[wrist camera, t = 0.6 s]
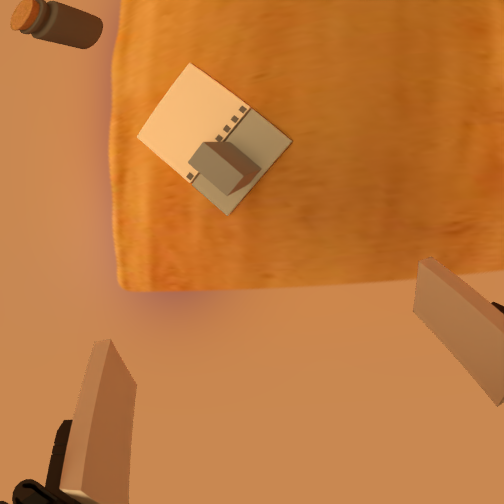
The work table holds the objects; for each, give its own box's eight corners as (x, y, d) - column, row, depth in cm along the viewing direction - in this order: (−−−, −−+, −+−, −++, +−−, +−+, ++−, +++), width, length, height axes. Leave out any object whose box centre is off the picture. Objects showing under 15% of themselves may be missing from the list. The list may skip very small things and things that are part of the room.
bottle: (92, 11, 35) (26, -12, 21) (109, 26, 35) (40, 1, 21) (71, 39, 37) (3, 25, 23) (86, 55, 37) (15, 41, 24)
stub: (195, 183, 41) (157, 196, 31) (254, 110, 36) (230, 98, 26) (230, 213, 41) (201, 236, 31) (292, 141, 36) (282, 139, 27)
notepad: (142, 136, 40) (135, 137, 38) (194, 65, 36) (188, 62, 34) (194, 181, 41) (189, 183, 39) (252, 108, 36) (249, 107, 35)
